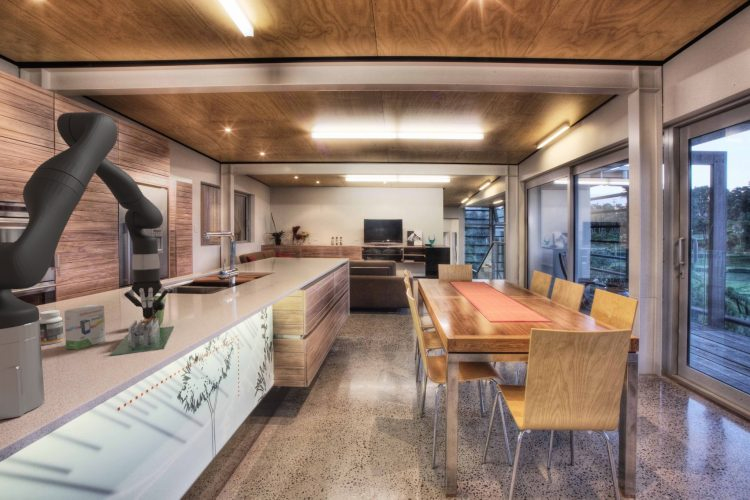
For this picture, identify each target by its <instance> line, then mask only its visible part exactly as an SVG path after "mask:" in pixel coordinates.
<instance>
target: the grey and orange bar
mask: <svg viewBox="0 0 750 500" xmlns="http://www.w3.org/2000/svg"><path fill="white" fill-rule="evenodd" d="M151 319H153V322H154V321H155V320H156V319H157V318H149V319H144V318H143V319H142V325H143V326H142V327H141V329H140V330H139V331H138V332H137V333H135V336H142V335H143V331H144V330H146V325H147V324H148V323H149V321H150V320H151Z"/></svg>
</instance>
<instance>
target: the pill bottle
mask: <svg viewBox="0 0 750 500" xmlns="http://www.w3.org/2000/svg"><path fill="white" fill-rule="evenodd" d="M60 315H61V310H59V309H54V310H53V309H52V310H51V309H50V310H45V311H41V312H39V320H40V337H41V346H42V345H43V346H44V345H45V346H46V345H54V344H57V343H61V342H62V341H63V340H64V323H63V322H64V321H63V318H62V317H61V316H60Z"/></svg>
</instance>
